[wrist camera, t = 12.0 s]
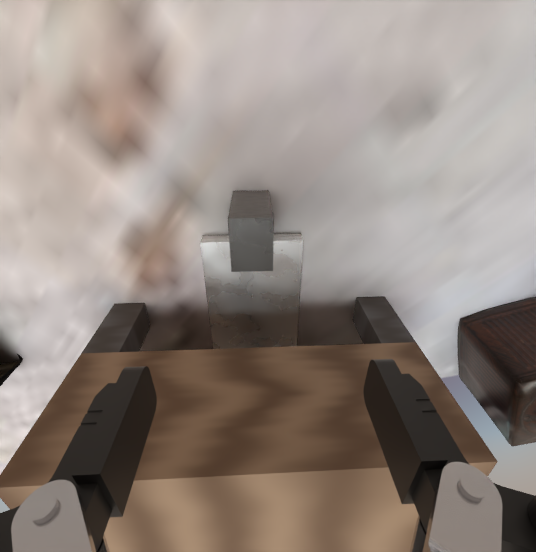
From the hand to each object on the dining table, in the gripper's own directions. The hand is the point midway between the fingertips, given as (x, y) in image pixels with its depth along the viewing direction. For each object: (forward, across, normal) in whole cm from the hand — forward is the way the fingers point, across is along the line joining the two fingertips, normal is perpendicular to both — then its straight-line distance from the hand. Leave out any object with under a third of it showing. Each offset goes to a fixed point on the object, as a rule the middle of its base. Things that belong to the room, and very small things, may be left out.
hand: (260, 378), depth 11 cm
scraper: (+18, 0, +12) cm, 22 cm away
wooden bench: (+18, +1, +16) cm, 24 cm away
